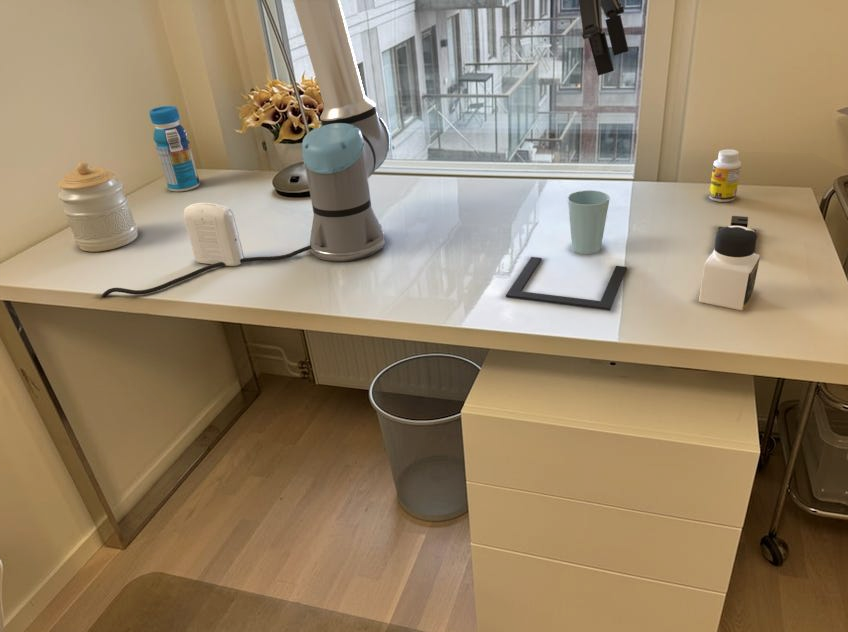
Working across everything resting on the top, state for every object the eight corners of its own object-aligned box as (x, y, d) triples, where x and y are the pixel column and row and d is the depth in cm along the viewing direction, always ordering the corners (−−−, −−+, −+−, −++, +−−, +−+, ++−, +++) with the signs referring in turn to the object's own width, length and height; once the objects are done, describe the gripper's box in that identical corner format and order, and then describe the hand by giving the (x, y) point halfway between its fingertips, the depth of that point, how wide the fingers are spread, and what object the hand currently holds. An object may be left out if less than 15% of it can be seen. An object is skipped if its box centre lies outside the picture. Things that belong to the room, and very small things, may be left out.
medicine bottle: (743, 311, 112) (756, 242, 106) (698, 302, 116) (708, 235, 109) (753, 292, 117) (766, 225, 111) (709, 284, 120) (719, 218, 114)
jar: (149, 237, 156) (124, 159, 146) (92, 258, 148) (62, 176, 139) (123, 225, 164) (98, 149, 154) (68, 243, 156) (37, 165, 146)
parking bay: (531, 259, 134) (531, 256, 133) (626, 269, 127) (627, 266, 127) (505, 297, 121) (505, 294, 121) (609, 310, 115) (610, 308, 115)
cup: (601, 239, 139) (604, 188, 134) (610, 255, 133) (614, 202, 127) (563, 242, 139) (564, 191, 133) (571, 258, 133) (572, 206, 127)
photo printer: (248, 258, 143) (234, 200, 136) (237, 268, 139) (221, 208, 132) (205, 255, 145) (189, 198, 139) (193, 264, 142) (176, 206, 135)
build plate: (755, 258, 128) (759, 234, 126) (713, 254, 131) (716, 231, 128) (756, 231, 138) (760, 208, 135) (716, 228, 140) (720, 206, 137)
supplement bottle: (703, 195, 155) (710, 149, 149) (727, 192, 156) (734, 146, 150) (716, 204, 150) (723, 157, 145) (740, 201, 151) (748, 154, 145)
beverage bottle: (162, 192, 182) (138, 113, 171) (177, 181, 188) (155, 105, 178) (192, 192, 180) (170, 112, 169) (206, 181, 187) (186, 104, 176)
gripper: (587, -63, 107) (620, 75, 117) (619, -82, 125) (646, 39, 135) (542, -45, 111) (577, 88, 121) (579, -66, 129) (608, 51, 139)
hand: (613, 62), depth 128 cm, fingers open, 13 cm apart
